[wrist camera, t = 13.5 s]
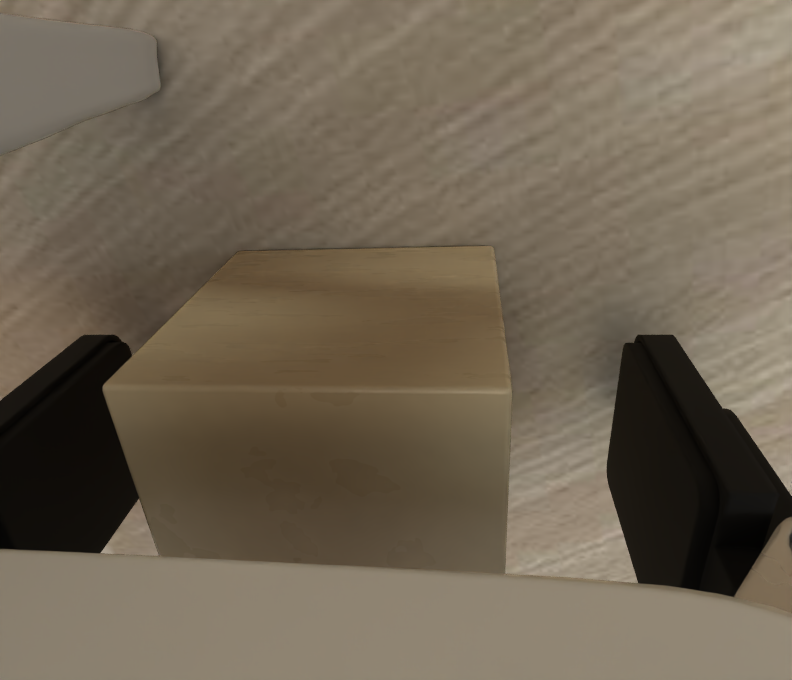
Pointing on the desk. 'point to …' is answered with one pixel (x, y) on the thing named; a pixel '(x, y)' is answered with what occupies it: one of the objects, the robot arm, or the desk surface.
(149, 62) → the pen
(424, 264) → the block
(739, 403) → the desk surface
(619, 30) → the desk surface
